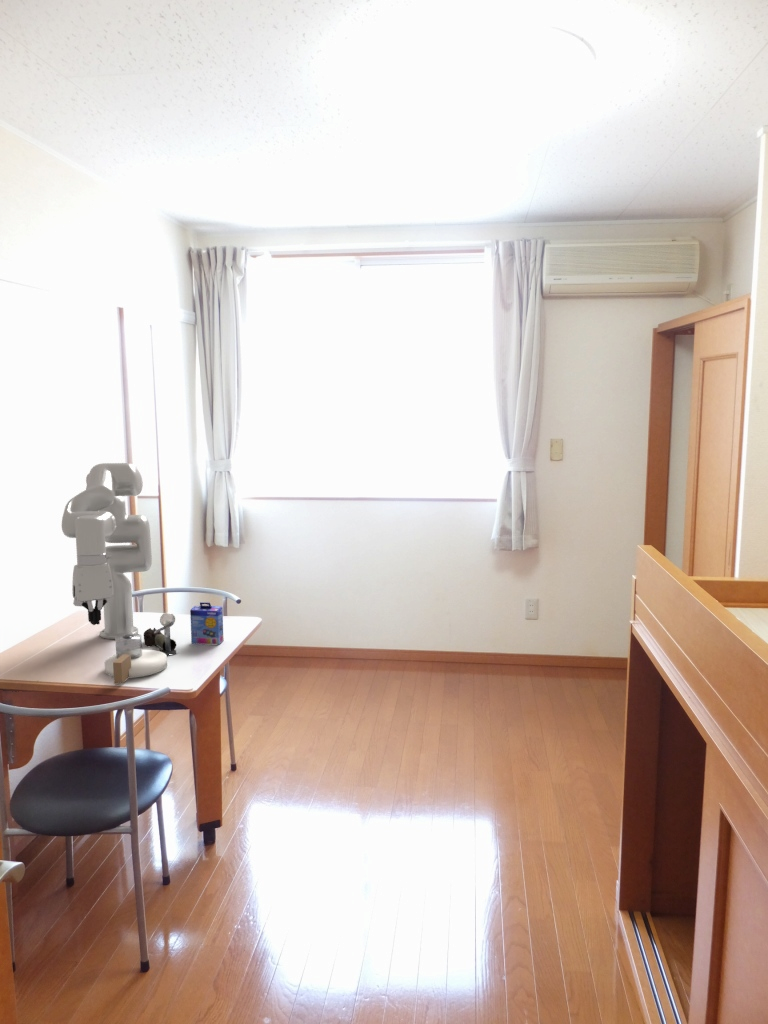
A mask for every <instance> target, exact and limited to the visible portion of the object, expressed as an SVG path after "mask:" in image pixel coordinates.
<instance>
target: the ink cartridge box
mask: <svg viewBox="0 0 768 1024" xmlns="http://www.w3.org/2000/svg"><path fill="white" fill-rule="evenodd" d="M223 612H224V611H223V606H219V605H217V606H214V605H211V603H210V602H201V601H200V602H199V605H194V606H193V607H192V608H191V609H190V612H189V614H190V637H191V644H190V645H205V644H219V645H220V644H221V643H223V642H224V639H225V638H224V618H223V617H224V616H223V615H224V614H223Z"/></svg>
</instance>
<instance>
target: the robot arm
mask: <svg viewBox="0 0 768 1024" xmlns="http://www.w3.org/2000/svg"><path fill="white" fill-rule="evenodd" d="M85 482H86V483H85V484H86V488H85V490H83V491H81V492H79V493H78V494H77V495H75V496H74V497H72V498H71V499H69V500H68V501H67V503H66V504H65V507H64V510H63V513H62V519H61V530H62V533H63V534H64V536H65V537H67V538H70V539H75V543H76V544H75V547H76V561H77V563H76V564H75V565H73V573H72V583H71V585H72V590H71V592H72V597H73V598H74V599H73V603H72V604H73V606H75V607H83V608H85V609H86V610H87V616H88V618H87V619H88V622H89V623H90V624H91V625H93V626H96V625H97V626H98V625H100V621H101V620H102V611H101V610H103V621H104V622H103V623H104V629H102V630H101V631H100V633H99V635H100V637H101V638H103V639H106V640H115V638H116V637H117V636H119V635H123V634H130V633H135V634H139V628H138V627H136V626H134V611H133V594H132V592H133V588H132V583H131V580H129V578H128V577H127V576H126V575H125V574H127V573H142V572H147V571H149V570H150V569H151V568H152V563H153V562H152V561H153V557H152V556H153V555H152V554H153V553H152V542H151V539H152V538H151V527H150V522H149V519H148V518H147V517H146V516H145V515H142V514H127V511H126V510H127V509H126V501H125V499H124V497H136V496H139V495H140V494H141V493H142V490H143V478H142V475H141V472H140V470H139V469H138V468H137V466H136V465H134V464H132V463H130V462H129V463H128V462H121V463H120V462H114V463H113V462H112V463H111V462H109V463H108V462H106V463H105V462H104V463H103V462H102V463H98V464H96V465H94V466H93V467H91V468H90V471H89V473H88V474H87V475H86V477H85ZM106 543H109V544H114V545H107V546H106ZM122 543H123V544H122ZM124 543H125V544H124ZM128 543H132V544H128ZM133 543H134V544H133ZM115 544H116V545H115ZM93 601H95V602H94V605H93Z"/></svg>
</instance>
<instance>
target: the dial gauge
mask: <svg viewBox="0 0 768 1024" xmlns="http://www.w3.org/2000/svg"><path fill="white" fill-rule="evenodd" d="M159 618H160V619H159V622H160V624H161V625H162V627H160V628H158V629H156V630H155V631H154V632H155V633H157V632H159V631H160V632H162V631H164V632H163V633H164V634H163V635H164V638H165V651H164V650H163V649H159V651H160V652H163V653H165V654H166V655H169V654H173V655H177V650H175V649H173V648H171V643H170V638H171V627H172V626H173V625H174V624H175V623H176V616H175V615H174V614H173V613H172V612H163V614H162V615H161V616H160V617H159ZM169 656H170V655H169Z"/></svg>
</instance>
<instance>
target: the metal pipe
mask: <svg viewBox="0 0 768 1024" xmlns="http://www.w3.org/2000/svg"><path fill="white" fill-rule="evenodd" d="M155 630H157V629H156V627H153V629H152V628H150V627H149V628H147V630H144V632H143V642H144V645H145V646H146V647H148V646H150V647H158V648H160V650H164V651H165V638H164V634H163V633H162V631H159V632H157V633H155V632H154V631H155ZM170 643H171V648H173V649H174V650H175V649H176V648H177V642H176V641H175V640H174V639H173V638H171V637H170ZM157 645H158V646H157Z"/></svg>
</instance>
